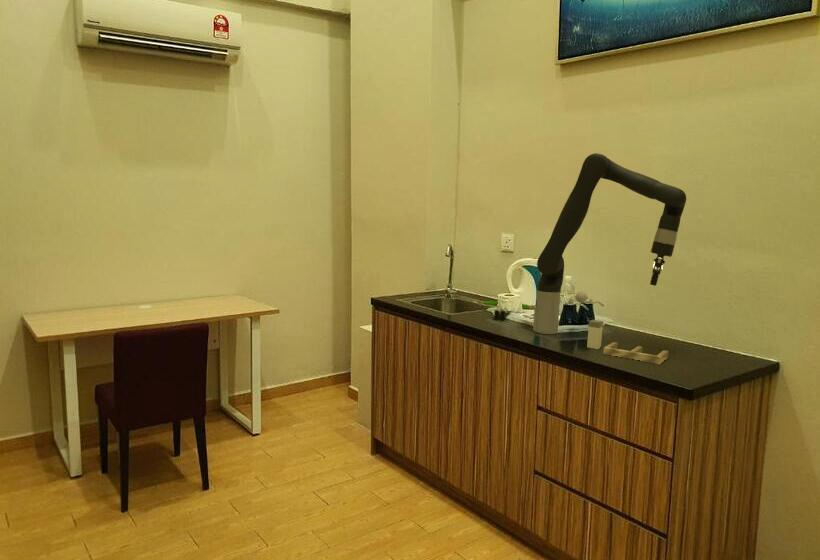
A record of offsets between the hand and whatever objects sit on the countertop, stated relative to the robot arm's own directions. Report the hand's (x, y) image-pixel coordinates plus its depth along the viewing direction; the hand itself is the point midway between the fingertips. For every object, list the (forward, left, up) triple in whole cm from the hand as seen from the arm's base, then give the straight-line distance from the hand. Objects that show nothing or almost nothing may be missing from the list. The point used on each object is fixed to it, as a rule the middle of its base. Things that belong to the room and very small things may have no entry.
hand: (652, 284), depth 239 cm
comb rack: (0, -15, -24) cm, 29 cm away
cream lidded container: (-16, -13, -24) cm, 32 cm away
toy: (-35, +24, -25) cm, 49 cm away
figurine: (-70, +21, -25) cm, 77 cm away
